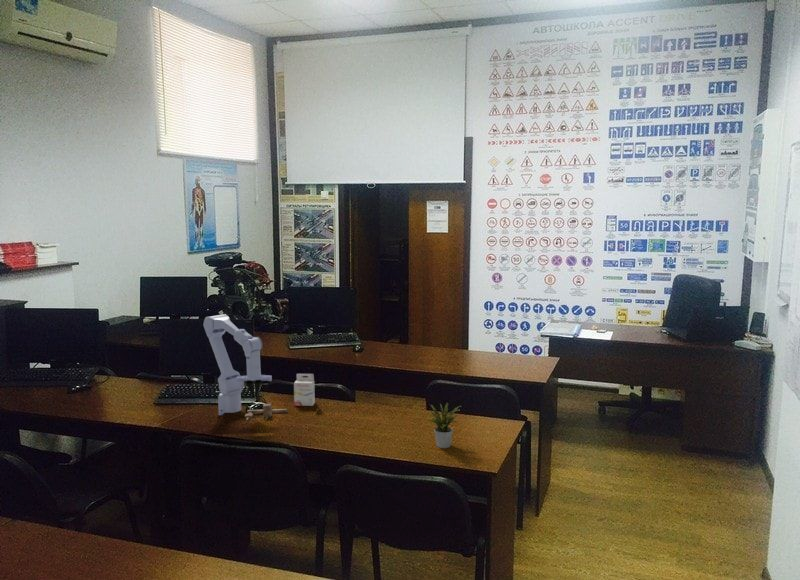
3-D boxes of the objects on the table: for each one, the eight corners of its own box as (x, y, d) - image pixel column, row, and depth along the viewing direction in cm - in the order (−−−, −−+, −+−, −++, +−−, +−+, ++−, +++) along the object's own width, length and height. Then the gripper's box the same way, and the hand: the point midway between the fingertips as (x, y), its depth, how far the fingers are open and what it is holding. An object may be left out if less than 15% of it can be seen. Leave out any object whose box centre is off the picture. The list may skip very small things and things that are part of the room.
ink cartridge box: (294, 408, 280) (292, 376, 279) (297, 404, 285) (295, 373, 284) (312, 408, 280) (311, 376, 278) (315, 404, 285) (314, 373, 283)
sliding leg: (262, 419, 262) (261, 407, 261) (266, 412, 271) (265, 401, 271) (269, 419, 262) (269, 407, 261) (273, 412, 272) (272, 400, 271)
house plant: (467, 453, 224) (467, 408, 222) (429, 454, 222) (428, 410, 221) (460, 439, 238) (460, 397, 236) (424, 440, 237) (424, 398, 235)
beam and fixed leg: (243, 420, 262) (243, 417, 261) (248, 413, 271) (247, 409, 271) (283, 419, 262) (283, 416, 262) (287, 412, 272) (287, 408, 272)
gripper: (234, 369, 259) (235, 400, 261) (269, 368, 260) (270, 399, 261) (237, 365, 266) (239, 396, 268) (271, 364, 267) (273, 395, 268)
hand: (255, 397), depth 265 cm, fingers closed
